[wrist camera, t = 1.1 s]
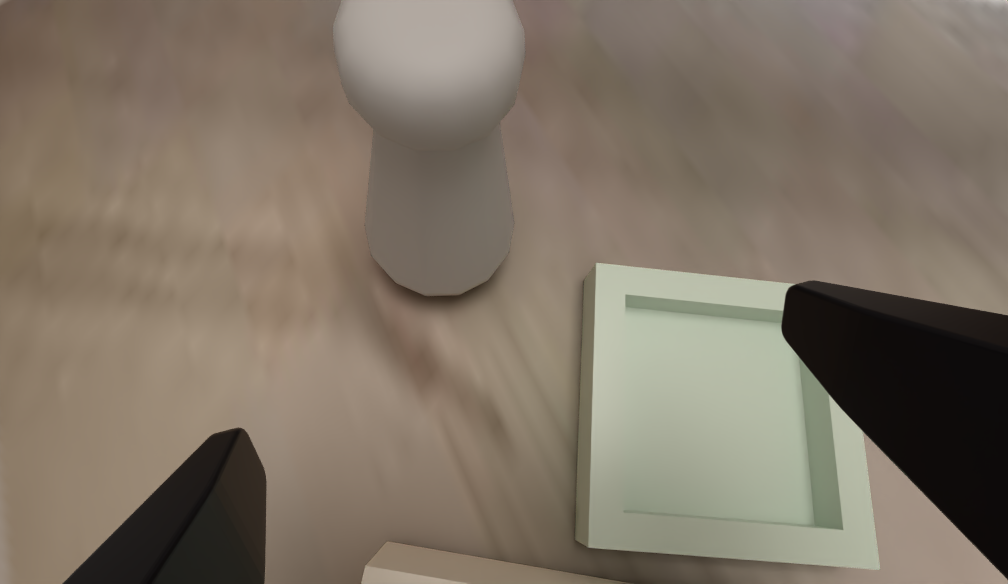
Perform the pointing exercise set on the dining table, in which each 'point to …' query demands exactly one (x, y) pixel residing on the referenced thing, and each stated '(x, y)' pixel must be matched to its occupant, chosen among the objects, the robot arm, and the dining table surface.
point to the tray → (711, 427)
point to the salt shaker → (434, 133)
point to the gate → (458, 569)
